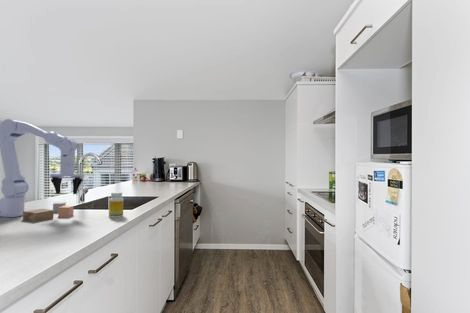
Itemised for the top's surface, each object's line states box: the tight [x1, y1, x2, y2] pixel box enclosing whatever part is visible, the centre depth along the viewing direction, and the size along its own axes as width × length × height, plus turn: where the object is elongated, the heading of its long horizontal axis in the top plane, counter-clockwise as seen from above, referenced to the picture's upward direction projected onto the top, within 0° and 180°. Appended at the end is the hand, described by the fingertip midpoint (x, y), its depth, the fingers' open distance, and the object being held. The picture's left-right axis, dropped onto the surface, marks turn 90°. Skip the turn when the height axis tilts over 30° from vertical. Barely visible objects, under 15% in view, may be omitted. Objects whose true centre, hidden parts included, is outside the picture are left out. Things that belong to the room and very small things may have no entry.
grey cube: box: [52, 201, 67, 214], centre depth 142 cm, size 4×4×4 cm
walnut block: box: [22, 208, 55, 223], centre depth 124 cm, size 8×8×4 cm
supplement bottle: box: [108, 191, 125, 219], centre depth 134 cm, size 6×6×11 cm
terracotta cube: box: [57, 205, 74, 218], centre depth 132 cm, size 4×4×4 cm
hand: (66, 193), depth 132 cm, fingers open, 7 cm apart
